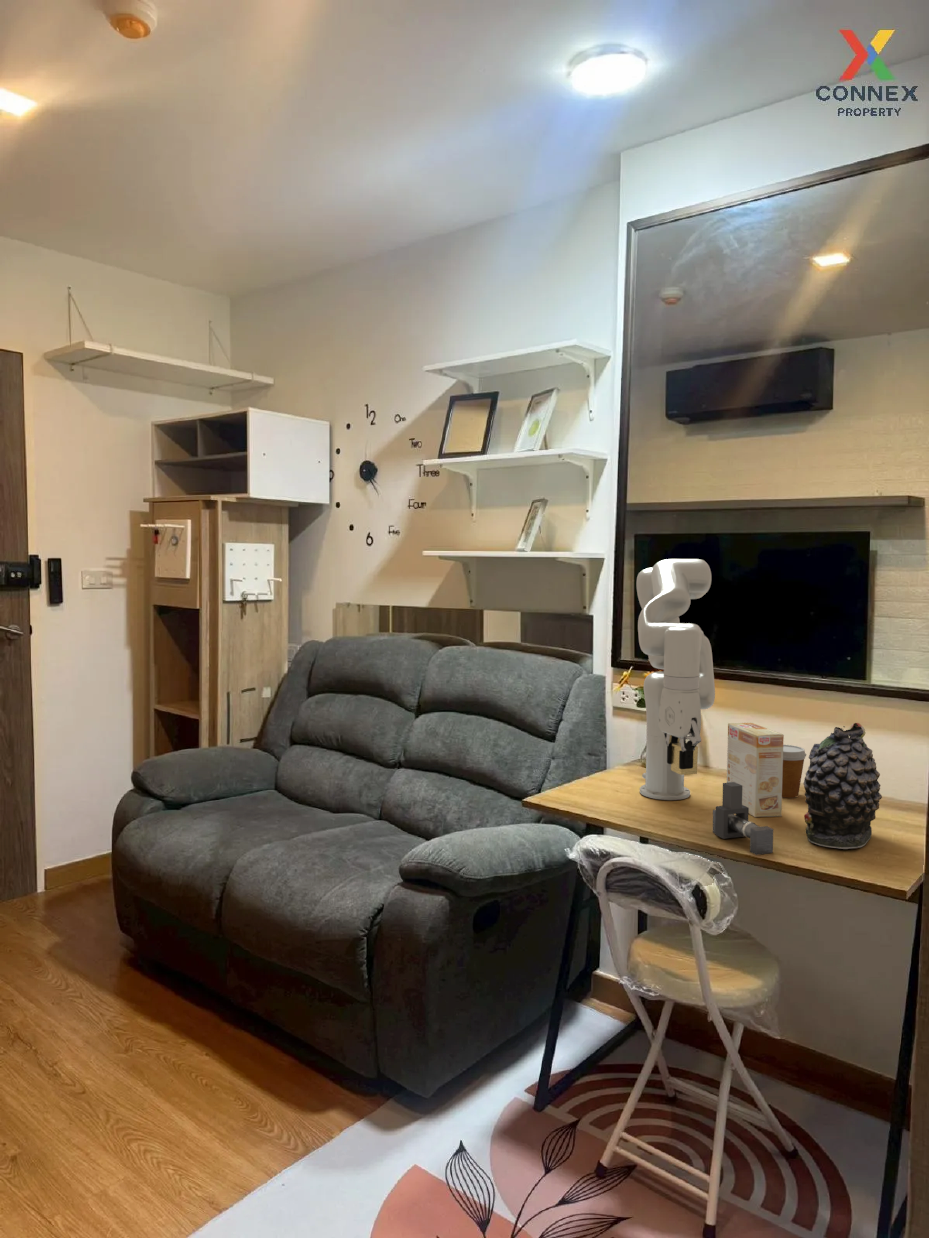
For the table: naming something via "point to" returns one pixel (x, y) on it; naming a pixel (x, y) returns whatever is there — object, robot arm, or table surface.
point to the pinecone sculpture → (841, 790)
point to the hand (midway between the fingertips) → (679, 764)
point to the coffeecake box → (756, 767)
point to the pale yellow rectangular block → (675, 760)
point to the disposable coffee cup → (792, 770)
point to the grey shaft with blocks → (751, 833)
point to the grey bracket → (730, 810)
